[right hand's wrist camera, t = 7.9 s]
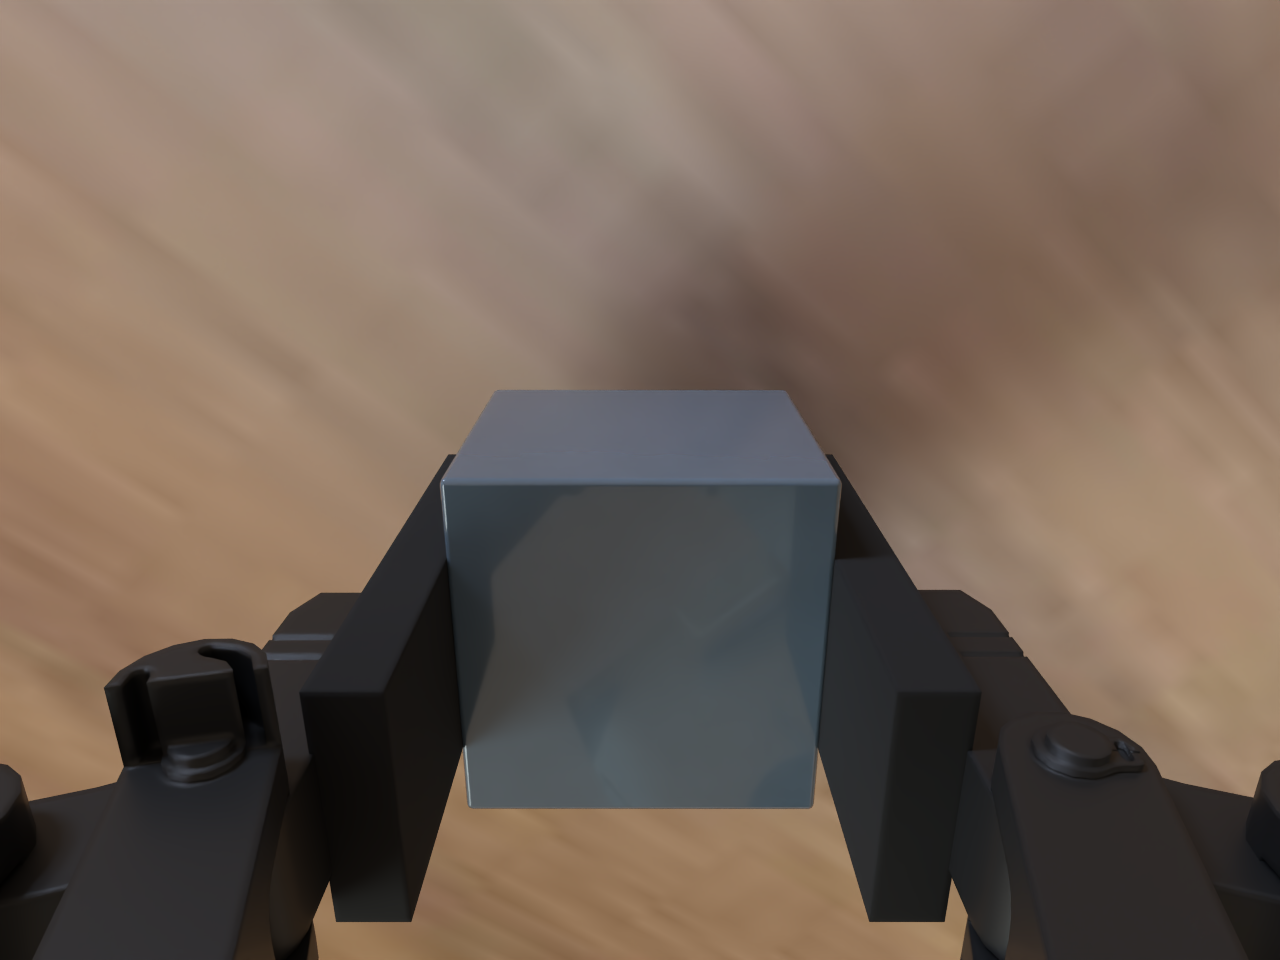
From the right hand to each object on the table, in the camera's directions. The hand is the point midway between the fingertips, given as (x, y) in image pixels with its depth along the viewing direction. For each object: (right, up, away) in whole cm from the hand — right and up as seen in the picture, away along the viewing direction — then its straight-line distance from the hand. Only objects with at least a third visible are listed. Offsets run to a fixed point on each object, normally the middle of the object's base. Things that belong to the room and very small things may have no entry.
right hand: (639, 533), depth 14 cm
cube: (0, 0, 0) cm, 0 cm away
